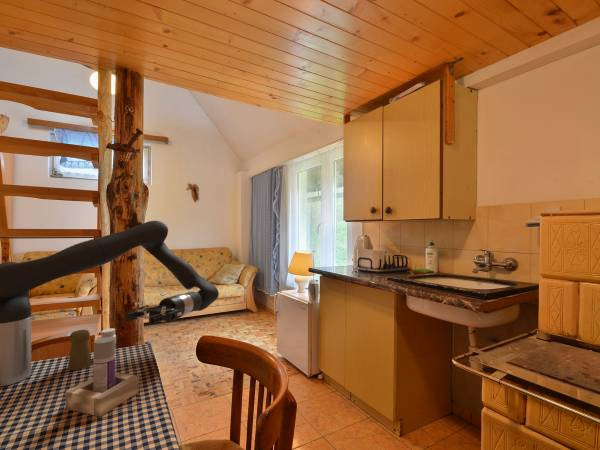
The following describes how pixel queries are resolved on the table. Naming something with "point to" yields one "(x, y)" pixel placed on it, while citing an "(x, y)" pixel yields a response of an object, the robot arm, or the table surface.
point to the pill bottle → (109, 334)
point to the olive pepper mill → (79, 350)
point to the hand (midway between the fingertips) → (137, 319)
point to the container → (104, 364)
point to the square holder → (101, 395)
